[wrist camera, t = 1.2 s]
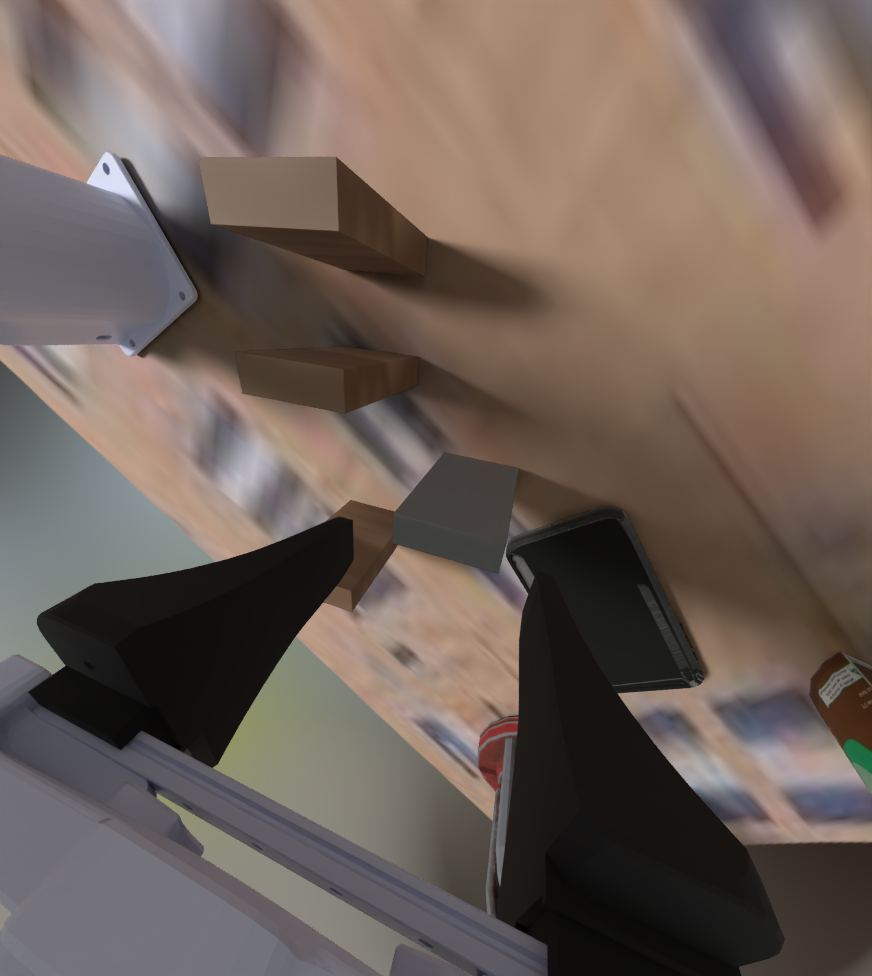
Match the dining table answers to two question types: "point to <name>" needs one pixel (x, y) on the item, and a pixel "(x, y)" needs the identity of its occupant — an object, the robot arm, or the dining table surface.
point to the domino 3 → (363, 551)
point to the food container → (847, 708)
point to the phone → (611, 598)
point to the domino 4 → (459, 512)
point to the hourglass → (498, 794)
